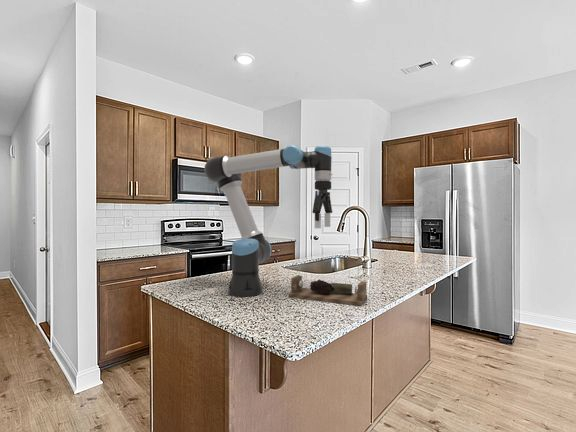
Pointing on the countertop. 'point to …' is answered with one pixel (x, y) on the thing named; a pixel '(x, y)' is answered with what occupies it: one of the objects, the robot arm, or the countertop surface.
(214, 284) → the countertop surface
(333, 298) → the shaft stand
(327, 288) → the lumpy brown club
